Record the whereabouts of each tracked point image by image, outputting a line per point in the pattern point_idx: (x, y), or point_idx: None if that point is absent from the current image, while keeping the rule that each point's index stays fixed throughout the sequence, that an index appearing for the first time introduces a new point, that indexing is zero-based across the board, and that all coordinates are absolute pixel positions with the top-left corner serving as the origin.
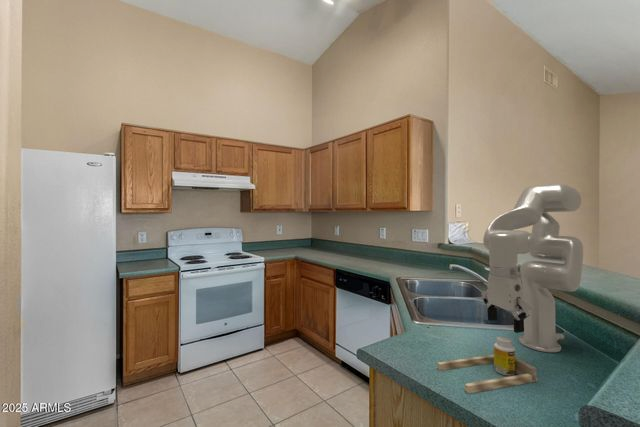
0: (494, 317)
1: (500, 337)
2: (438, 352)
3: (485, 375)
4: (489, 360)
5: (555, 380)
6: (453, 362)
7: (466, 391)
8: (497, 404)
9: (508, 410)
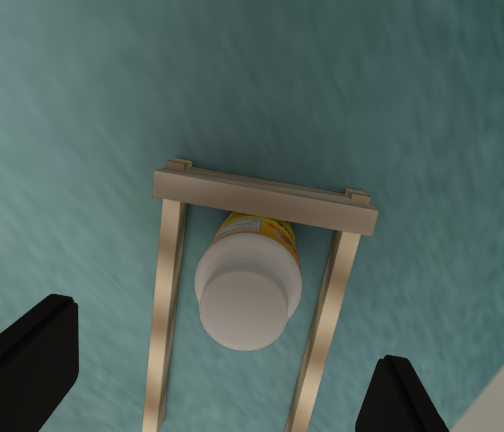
0: (58, 347)
1: (214, 311)
2: None
3: None
4: (181, 231)
5: (398, 106)
6: (160, 395)
7: None
8: None
9: None
